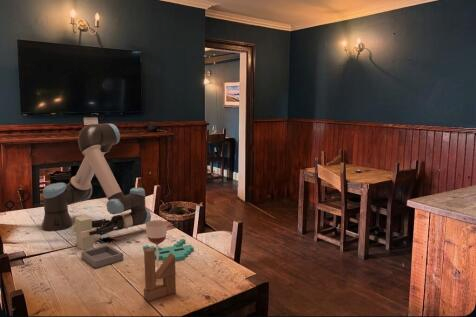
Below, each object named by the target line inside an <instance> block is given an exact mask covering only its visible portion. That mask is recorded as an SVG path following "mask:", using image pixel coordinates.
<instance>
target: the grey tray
mask: <svg viewBox="0 0 476 317" xmlns="http://www.w3.org/2000/svg"><path fill="white" fill-rule="evenodd" d="M80 254H81V255H80V256H81V259H82V260H83V261H84V262H85V263H87V264H89V266H91V267H93V268H94V269H95V270H96V269H100V268H103V267H106V266H108V265H113V264H115V263H119V262H122V261H124V253H123V252H122V251H120V250H118V249H116V248H115V247H113V246H111V245H109V244H106V245H103V246H98V247H96V248H94V247H93V248H90V249H89V250H88V249H86V250H82V251H81V253H80Z"/></svg>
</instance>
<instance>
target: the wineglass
mask: <svg viewBox="0 0 476 317" xmlns="http://www.w3.org/2000/svg"><path fill="white" fill-rule="evenodd" d="M167 230H168V222H167V221H166V220H159V219H157V220H150V221H149V222H147V223H146V224H145V231H146V236H147V239H148V241H149V242H150V243H152V244H154V245H155V247H156V255H157V260H156V266H155V272H156V271H157V270H158V269H159V267H160V265H159V264H160V262H159V261H160V260H159V258H158V247H159V244H162V243H163V242H164V241H165V240H166V237H167V233H168V232H167Z"/></svg>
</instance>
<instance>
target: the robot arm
mask: <svg viewBox="0 0 476 317" xmlns="http://www.w3.org/2000/svg"><path fill="white" fill-rule="evenodd" d="M120 141H121V134H120V130H119V129H118V127H117V126H116V125H115V124H114V123H97V124H88V125H85V126H84V127H82V129H81V130H80V131H79V134H78V137H77V143H78V147H79V150H80V153H81V154H82V155H83V156H84V158H83V159H82V162H81V164H80V165H79V168H78V170H77V172H76V175H74V176H72V177H71V178H70V180H69V182H68V183H65V182H56V183H50V184H48V185H46V186H45V187H44V188H43V190H42V197H43V210H44V212H43V213H44V216H43V220H42V223H41V229H42V231H43V230H44V231H48V232H49V231H50V232H51V231H52V232H53V231H54V232H55V231H61V230H66V229H69V228H70V227H71V228H72V229H71V230H72V233H76V226H75V225H73V220H72V218H71V214H70V213H69V208H68V207H69V205H74V204H77V203H81V202H85V201H86V200H89V199H90V198H91V196H92V194H93V186H92V183H91V181H92V179H93V177H94V176H95V177H96V178H97V180H98V182H99V184H100V187H101V188H102V190H103V192H104V194H105V196H106V198H107V200H108V201H107V203H106V205H105V206H106V210H107V212H108V213H109V214H110V215H113V216H112V217H111V219H106V218H103V219H102V218H101V219H97V220H92V229H91V230H87V231H83V232H81V238H84V237H88V236H92V235H93V236H96V235H97V236H98V235H99V236H103V235H107V234H108V233H111V232H114V231H121V230H124V229H126V230H128V229H130V228H132V227H138V226H142V225H146V223H147V222H149V221H152V220H151V219H152V214H151V211H150V209H147V207H146V190H145V189H144V188H143V187H132V188H130V190H129V194H126V195H124V192H123V191H122V190H121V188H120V185H119V184H118V181H117V180H116V177H115V176H114V173H113V171H112V170H111V168H110V166H109V164H108V162H107V160H106V158H105V156H104V155H105V154H106V153H109V152H110V150H111V149H112V147H113V146H115V145H117V144H118V143H119V142H120ZM126 211H129V212H126ZM125 212H126V213H125Z"/></svg>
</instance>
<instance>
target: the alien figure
mask: <svg viewBox="0 0 476 317" xmlns="http://www.w3.org/2000/svg"><path fill="white" fill-rule="evenodd" d="M186 241H187V240H186V239H185V238H181V239H179V241H176V243H173V245H170V246H166V247H165V246H164V247H161V246H158V258H159V261H163V262H164V261H165V259H166V258H167V257H168V255H169V254H170V253H172V254H173V255H175V262H179V261H185V260H186V258H189V256H190V255H191V254H192V253H193V252H195V249H194V248H195V247H194V246H193V245H191V244H187V245H185V244H186ZM146 248H154V249H155V261H157V255H156V246H155V245H152V246H149V245H148V244H145V245H143V246H142V249H143V251H144V250H145V249H146Z"/></svg>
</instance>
